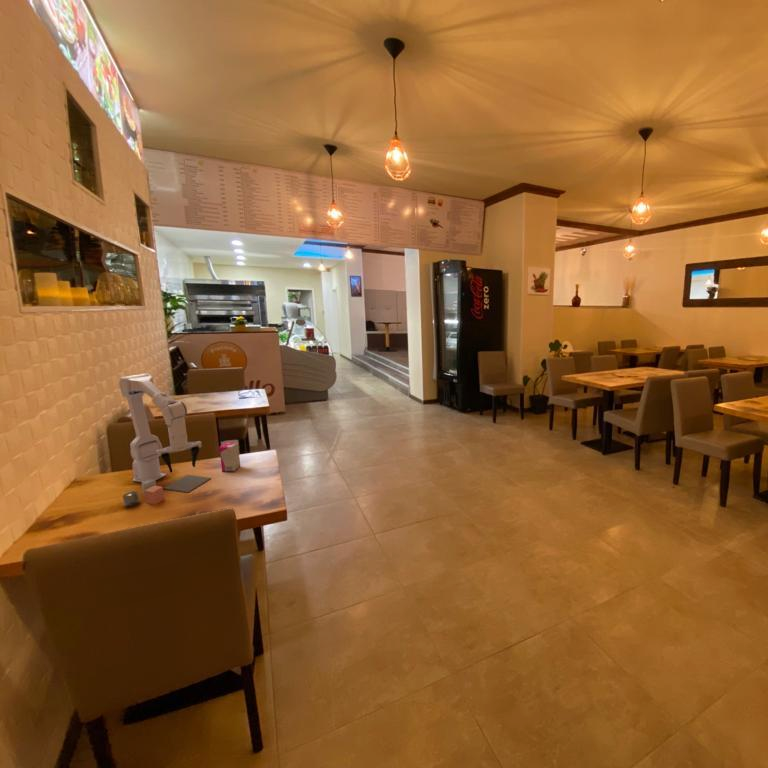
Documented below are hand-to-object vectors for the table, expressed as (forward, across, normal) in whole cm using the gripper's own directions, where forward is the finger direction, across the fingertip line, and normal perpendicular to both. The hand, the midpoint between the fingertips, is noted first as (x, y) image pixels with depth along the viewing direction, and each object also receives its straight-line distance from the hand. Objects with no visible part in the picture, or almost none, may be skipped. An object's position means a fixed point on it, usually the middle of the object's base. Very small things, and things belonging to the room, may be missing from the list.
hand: (182, 468), depth 138 cm
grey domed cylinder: (+10, -11, +8) cm, 17 cm away
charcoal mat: (+10, +2, +7) cm, 12 cm away
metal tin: (+10, -17, +2) cm, 20 cm away
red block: (+10, -10, 0) cm, 14 cm away
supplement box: (+10, +19, +10) cm, 24 cm away
